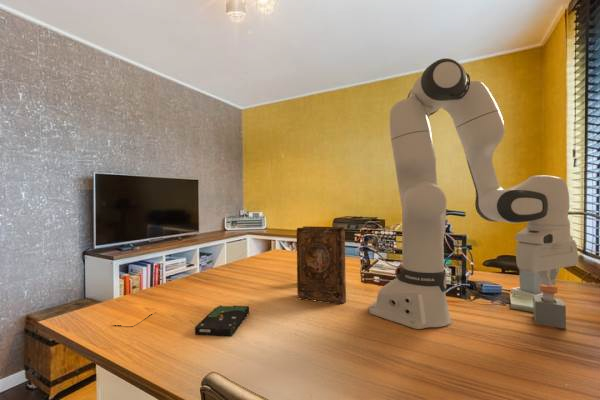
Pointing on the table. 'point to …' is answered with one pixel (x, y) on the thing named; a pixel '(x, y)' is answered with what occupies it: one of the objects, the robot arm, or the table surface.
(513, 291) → the socket collar
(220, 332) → the disk drive
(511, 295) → the tray
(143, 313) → the table surface
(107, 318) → the table surface
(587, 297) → the table surface
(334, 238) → the book
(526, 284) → the cartridge
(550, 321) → the button post
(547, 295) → the button
